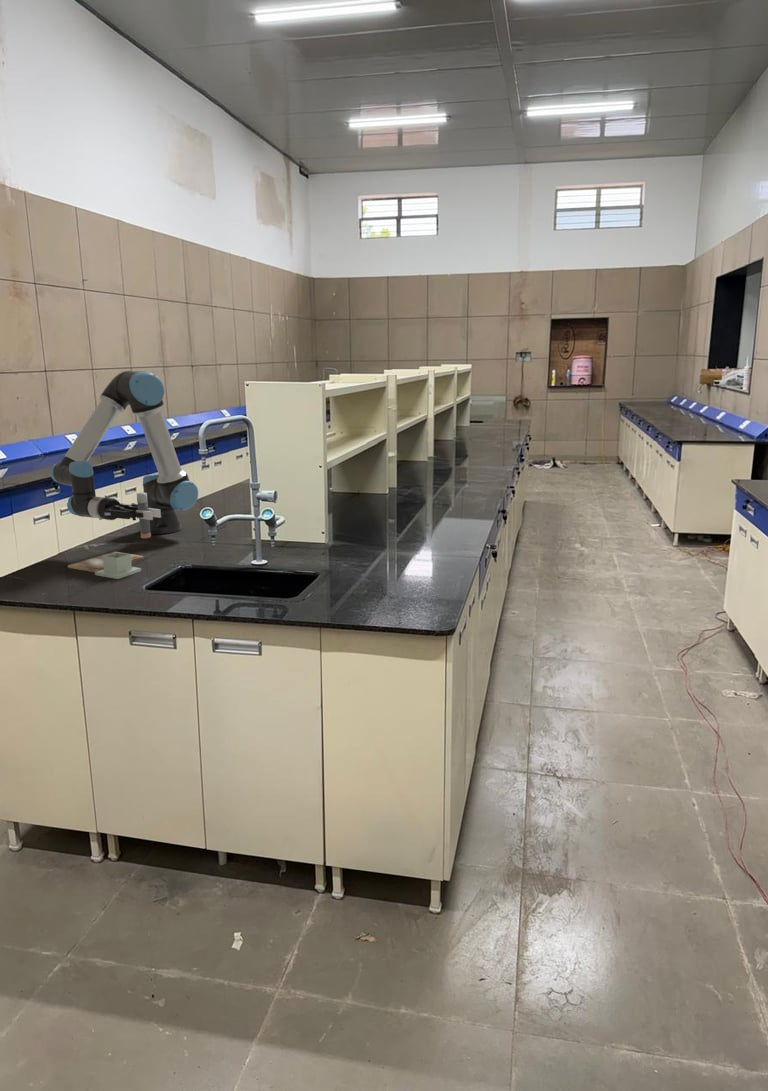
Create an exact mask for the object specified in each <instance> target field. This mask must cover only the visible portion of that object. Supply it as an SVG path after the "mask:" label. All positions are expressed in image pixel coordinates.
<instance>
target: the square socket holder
mask: <svg viewBox="0 0 768 1091" xmlns="http://www.w3.org/2000/svg"><path fill="white" fill-rule="evenodd" d="M115 552H116V553H112V554H109V555H106V556H103V563H104V569H103V570H100V571H97V572H94V575H95V576H99V577H104V578H110V579H115V580H120V579H122V578H126V577H129V576H131V575H133V574H134V575H135V574H138V573H140V572H142V567H136V566H132V562H131V554H132V553H127V552H121V553H120V552H119V551H115ZM126 553H127V554H126Z"/></svg>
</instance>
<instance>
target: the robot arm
mask: <svg viewBox="0 0 768 1091" xmlns="http://www.w3.org/2000/svg"><path fill="white" fill-rule="evenodd" d="M164 395H165V385H164V384H163V382H162V380H161V379H160V377H158V375H156V374H154V373H152V372H150V371H149V372H148V371H146V370H144V371H143V370H140V371H130V370H128V371H127V370H126V371H125V370H124V371H122V372H120V373H118V374H117V375H115V376H114V377H113V378H112V379H111V380H110V381H109V383H108V384H107V386H106V387H105V388H104V390H103V391H102V393H101V395H100V396H99V398H100V399H99V400H100V402H98V405H97V406H96V407H95V409H94V410H93V412H92V414H91V415H90V417H89V418H88V419H87V421H86V423H85V424H84V426H83V427H82V429H81V430H80V432H79V433H78V435H77V437H76V438H75V440H74V441H73V443H72V445H71V446H70V447H69V448H68V450H67V452H66V453H65V455H64V456H63V458H62V459H61V460H60V462H57V463H54V464H53V465H52V466H51V468H50V471H49V473H50V475H49V476H50V477H51V479H52V480H53V482H55V483H58V484H60V485H65V486H69V487H71V492H72V495H71V496H70V497H69V498H67V502H66V507H67V510H68V511H69V513H70V514H72V515H74V516H78V517H83V518H93V519H99V521H102V520H106V521H115V520H116V519H122V520H130V519H132V521H136V520H137V519H147V520H149V522H150V533H151V535H161V534H162V535H163V534H171V533H175V532H176V533H177V532H179V531H181V530H182V524H181V521H180V520H179V519H180V518H179V517H178V516H179V515H178V513H177V511H187V510H190V509H191V508H192V507H194V506H195V505H196V503H197V500H198V498H199V490H198V489H199V488H198V487H197V485H196V484H195V483H194V481H191V480H190V478H189V476H188V472H187V471H186V470H184V469H182V467H181V464H180V461H179V459H178V455H177V452H176V450H175V446H174V444H173V441H172V437H171V434H170V431H169V429H168V426H167V423H166V419H165V416H164V414H163V410H162V409H163V408H164V405H165V404H164V401H163V399H164ZM128 406H130V409H131V412H132V414H134V415H136V416H137V417H138V420H139V422H140V425H141V427H142V428H141V429H142V430H143V434H144V436H145V440H146V441H147V444H148V448H149V451H150V453H151V456H152V459H153V462H154V464H155V467H156V470H157V473H154V474H153V473H152V474H147V475H144V476H143V477H142V488H143V493H147V500H148V511H143V510H138V503H135V502H132V503H130V504H126V503H120V502H119V500H117V499H116V498H114V497H113V498H110V497H106V496H105V497H104V496H96V486H95V477H94V476H95V475H94V473H95V472H94V469H93V464H92V462H91V461H89V459H90V458H91V456H93V454H94V452H95V450H96V449H97V448H98V446H99V444H100V443H101V441H102V439H103V438H104V437H105V435H106V434H107V432H108V431H109V429H110V428H111V426H112V424H113V423H114V422H115V420H116V418H117V417H118V415H119V413H124V412H125V410H126V408H127V407H128Z"/></svg>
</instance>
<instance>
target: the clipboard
mask: <svg viewBox="0 0 768 1091" xmlns="http://www.w3.org/2000/svg"><path fill="white" fill-rule="evenodd" d="M116 552H117V551H112V552H109V553H104V554H102V555H98V556H95V557H91V558H89V559H88V558H87V559H84V560H80V561H78V562H74V563H71V564H67V568H69V569H74V570H80V571H85V572H89V573H90V572H91V573H95V572H97V571H100V570H103V569H104V563H103V556H106V555H109V554H112V553H116ZM120 553H122V552H120ZM125 553H126V554H128V553H127V552H125ZM130 554H131V563H134V562H136V561H140V560H143V559H144V556H143V555H138V554H132V553H130Z"/></svg>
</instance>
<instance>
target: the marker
mask: <svg viewBox="0 0 768 1091" xmlns="http://www.w3.org/2000/svg"><path fill="white" fill-rule="evenodd" d="M136 504H138V510H143V511H148V500H147V493H144V492H137V493H136ZM138 519H139V518H138ZM138 521H139V530H140V532H139V533H140V538H142V539H149V538H151V537H152V534H151V533H150V522H149V520H147V519H139V520H138Z"/></svg>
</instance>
